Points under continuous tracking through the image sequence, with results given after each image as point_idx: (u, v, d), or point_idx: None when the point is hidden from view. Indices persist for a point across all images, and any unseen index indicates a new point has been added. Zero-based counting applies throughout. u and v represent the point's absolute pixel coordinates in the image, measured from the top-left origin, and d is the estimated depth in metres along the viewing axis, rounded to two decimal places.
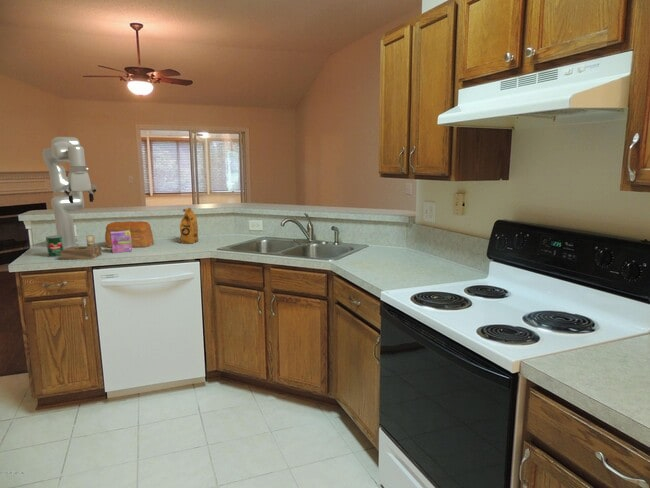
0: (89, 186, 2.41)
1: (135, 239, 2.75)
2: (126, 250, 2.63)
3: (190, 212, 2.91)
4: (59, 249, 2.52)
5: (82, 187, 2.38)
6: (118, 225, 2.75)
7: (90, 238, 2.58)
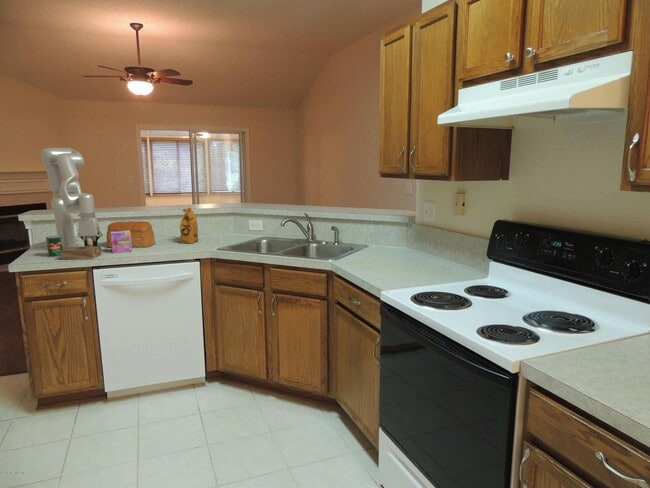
0: None
1: (136, 239, 2.75)
2: (126, 250, 2.63)
3: (190, 212, 2.91)
4: (59, 249, 2.52)
5: None
6: (119, 225, 2.75)
7: (90, 238, 2.58)
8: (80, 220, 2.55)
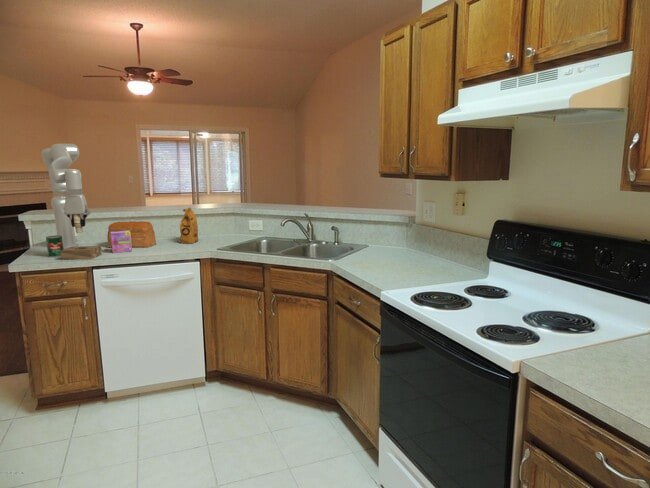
0: None
1: (137, 239, 2.75)
2: (126, 250, 2.63)
3: (190, 212, 2.91)
4: (59, 249, 2.52)
5: None
6: (120, 225, 2.75)
7: (77, 216, 2.44)
8: (66, 197, 2.41)
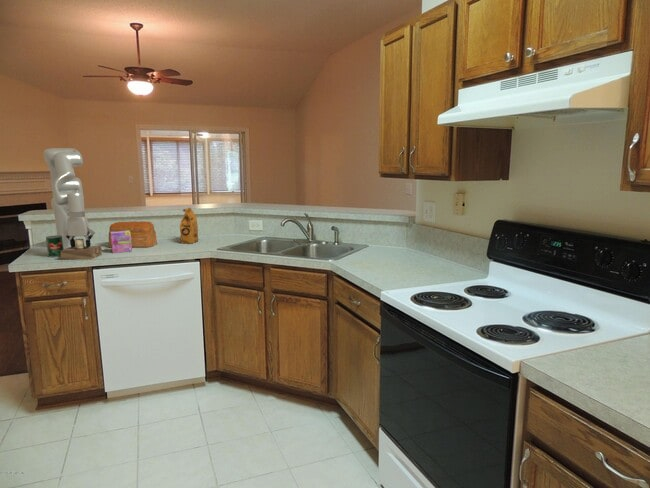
0: None
1: (138, 239, 2.75)
2: (126, 250, 2.63)
3: (190, 212, 2.91)
4: (59, 249, 2.52)
5: None
6: (121, 225, 2.75)
7: (80, 241, 2.46)
8: (69, 219, 2.43)
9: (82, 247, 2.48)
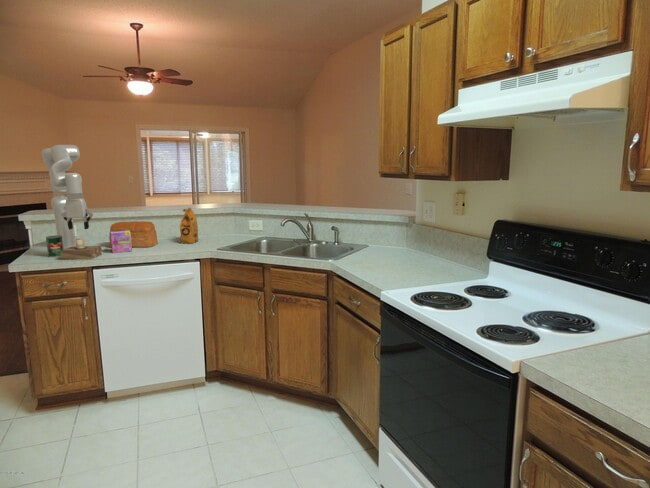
0: None
1: (139, 239, 2.75)
2: (126, 250, 2.63)
3: (190, 212, 2.91)
4: (59, 249, 2.52)
5: None
6: (122, 225, 2.75)
7: (80, 241, 2.46)
8: (67, 201, 2.41)
9: (82, 247, 2.48)
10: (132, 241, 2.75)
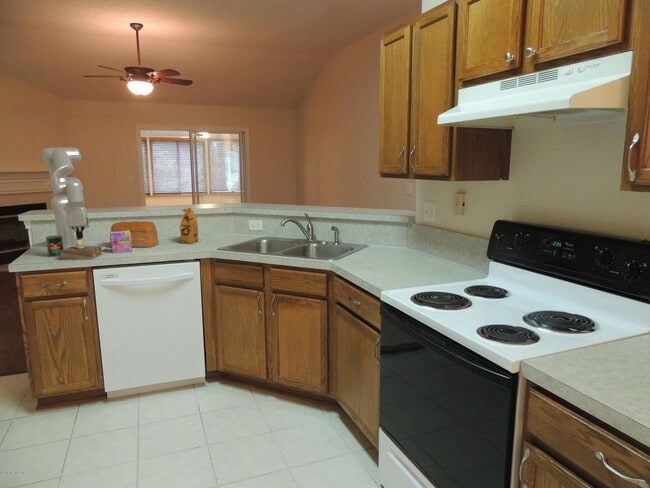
0: None
1: (140, 239, 2.74)
2: (126, 250, 2.63)
3: (190, 212, 2.91)
4: (59, 249, 2.52)
5: None
6: (123, 225, 2.75)
7: (80, 241, 2.46)
8: (68, 209, 2.42)
9: (82, 247, 2.48)
10: (133, 241, 2.75)
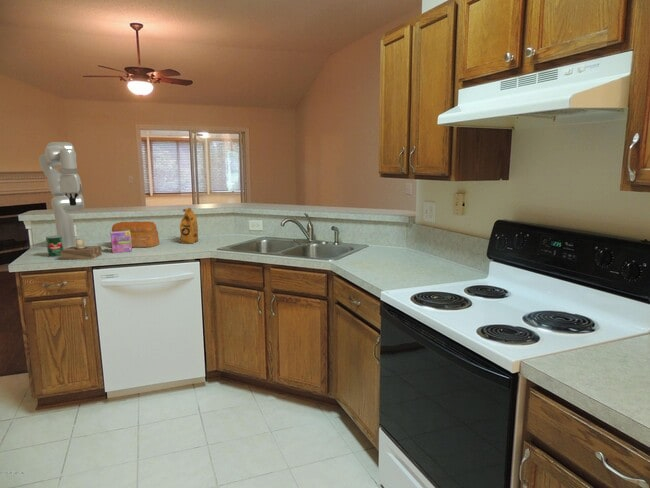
0: None
1: (141, 240, 2.74)
2: (126, 250, 2.63)
3: (190, 212, 2.91)
4: (59, 249, 2.52)
5: None
6: (124, 225, 2.74)
7: (80, 241, 2.46)
8: (61, 176, 2.46)
9: (82, 247, 2.48)
10: (134, 241, 2.74)
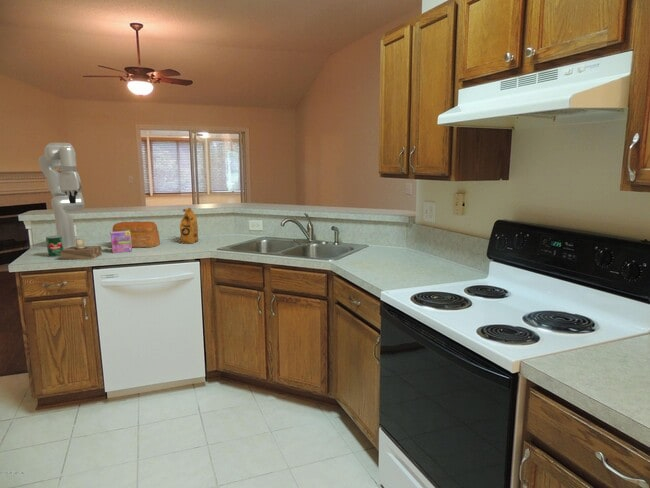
0: None
1: (141, 240, 2.74)
2: (126, 250, 2.63)
3: (190, 212, 2.91)
4: (59, 249, 2.52)
5: None
6: (125, 225, 2.74)
7: (80, 241, 2.46)
8: (61, 174, 2.47)
9: (82, 247, 2.48)
10: (134, 241, 2.74)
